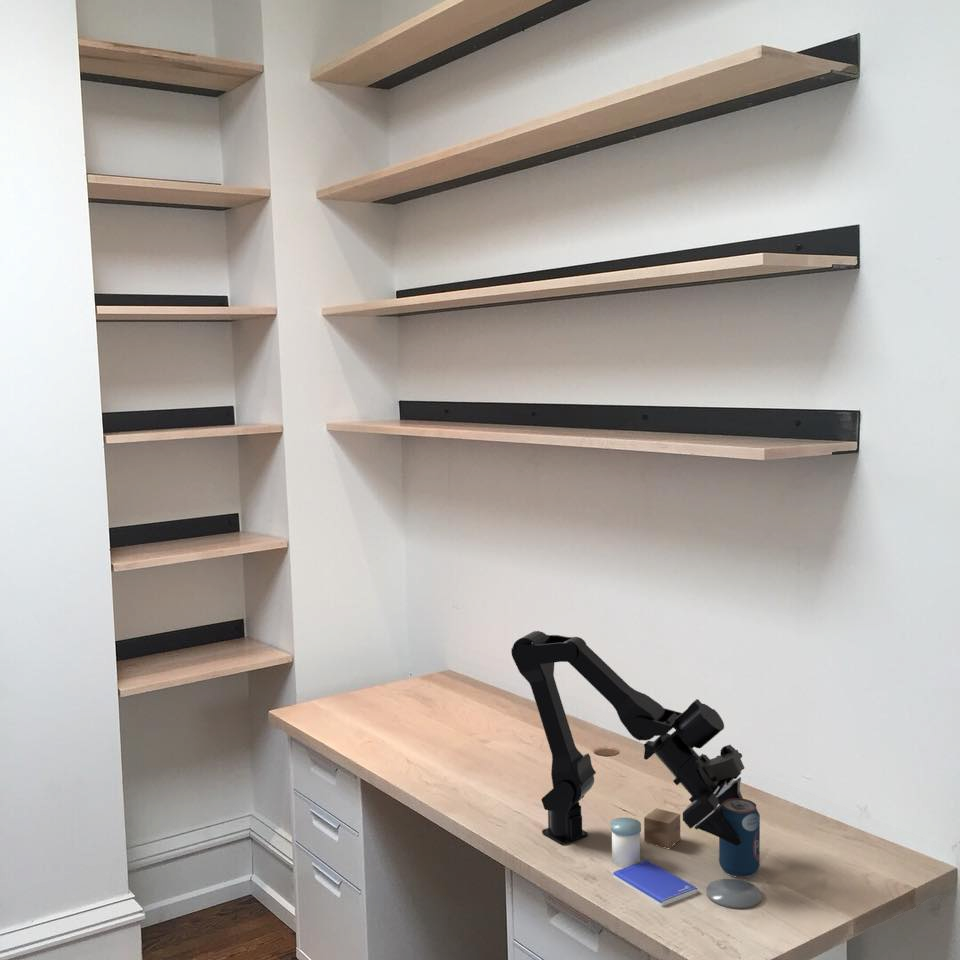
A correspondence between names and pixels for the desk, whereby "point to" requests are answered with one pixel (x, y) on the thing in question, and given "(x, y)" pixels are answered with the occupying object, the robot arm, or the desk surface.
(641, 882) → the hard drive
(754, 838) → the soda can
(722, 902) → the coaster
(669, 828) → the walnut block
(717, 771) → the robot arm
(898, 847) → the desk surface
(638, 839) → the white jar
